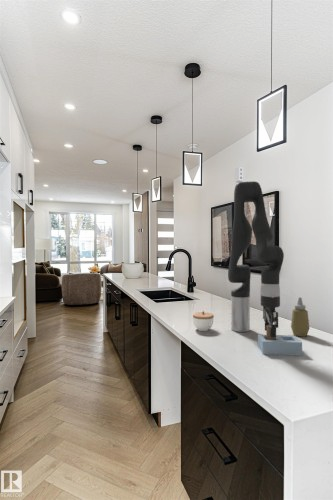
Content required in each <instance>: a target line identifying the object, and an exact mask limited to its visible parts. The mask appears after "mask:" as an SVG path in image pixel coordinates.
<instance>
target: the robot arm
mask: <svg viewBox="0 0 333 500" xmlns="http://www.w3.org/2000/svg"><path fill="white" fill-rule="evenodd" d="M233 191H234V192H233V220H232V221H233V223H232V224H233V225H232V232H231V243H230V244H231V248H230V258H229V264H228V270H227V279H228V281H229V283H232V284H241V285H240V286H238V287H237V288H233V289H232V290H231V291H230V300H231V303H230V306H231V307H230V309H231V310H230V311H231V312H230V315H231V316H230V318H231V321H230V329H231V330H232V331H235V332H239V333H248V332H249V331H250V330H251V327H250V326H251V322H250V321H251V319H250V318H251V317H250V316H251V310H250V309H251V303H250V301H251V300H250V299H251V298H250V297H251V295H250V293H251V274H252V272H251V268H250V266H249V265H248V264H238V262H239V260H240V258H241V257H242V255H243V254H244V253H245V252H246V251H247V249H248V248H249V246H250V245H251V244H252V237H253V236H254V239H255V250H256V253H255V255H256V259H257V260H258V261H259V262H260V263H262V264H269V265H268V267H266V268H264V269H262V270H261V273H260V276H261V277H260V306H262V309H263V310H262V319H263V322H264V331H266V326H267V325H270V337H276V335H277V328H279V312H278V311H276V309H277V308H280V306H281V288H280V287H281V285H280V273H281V270H282V265H283V263H284V258H285V253H284V250H283V248H282V247H281V246H279V245H268V243H269V242H271V241H273V238H274V235H273V231H272V228H271V226H270V222H269V221H268V216H267V212H266V206H265V201H264V194H263V191H262V187H261V184H260V183H259V182H257V181H239V182H237V183H236V184H235V187H234V190H233ZM245 203H253V204H254V208H255V209H254V214H253V217H252V221H251V223H250V221H249V219H248V218H247V216H246V213H245ZM252 234H253V235H252Z"/></svg>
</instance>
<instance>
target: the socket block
mask: <svg viewBox="0 0 333 500" xmlns="http://www.w3.org/2000/svg"><path fill="white" fill-rule="evenodd" d="M297 337H298V336H296V335H294V334H293V335H292V334H291V335H289V334H286V335H285V334H283V335H282V334H276V337H274V340H267V339H266V334H257V347H258V349H259V350H260V352H261V354H262V355H277V356H278V355H281V356H282V355H283V356H284V355H286V356H303V342H302V341H301V340H300V339H299V338H297Z"/></svg>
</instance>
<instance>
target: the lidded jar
mask: <svg viewBox="0 0 333 500" xmlns="http://www.w3.org/2000/svg"><path fill="white" fill-rule="evenodd" d="M214 318H215V315H214V314H213V313H211V312H205V311H203V310H201V311H200V312H195V313H193V314H192V321H193V325H194V327H195V328H196V329H197V331H200V332H208V331H209V330H210V329H211V328H212V327H213V325H214Z"/></svg>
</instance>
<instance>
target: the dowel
mask: <svg viewBox="0 0 333 500" xmlns="http://www.w3.org/2000/svg"><path fill="white" fill-rule="evenodd" d="M265 332H266V334H265V335H266V339H267V340H274V337H270V325H267V326H266V330H265Z"/></svg>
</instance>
